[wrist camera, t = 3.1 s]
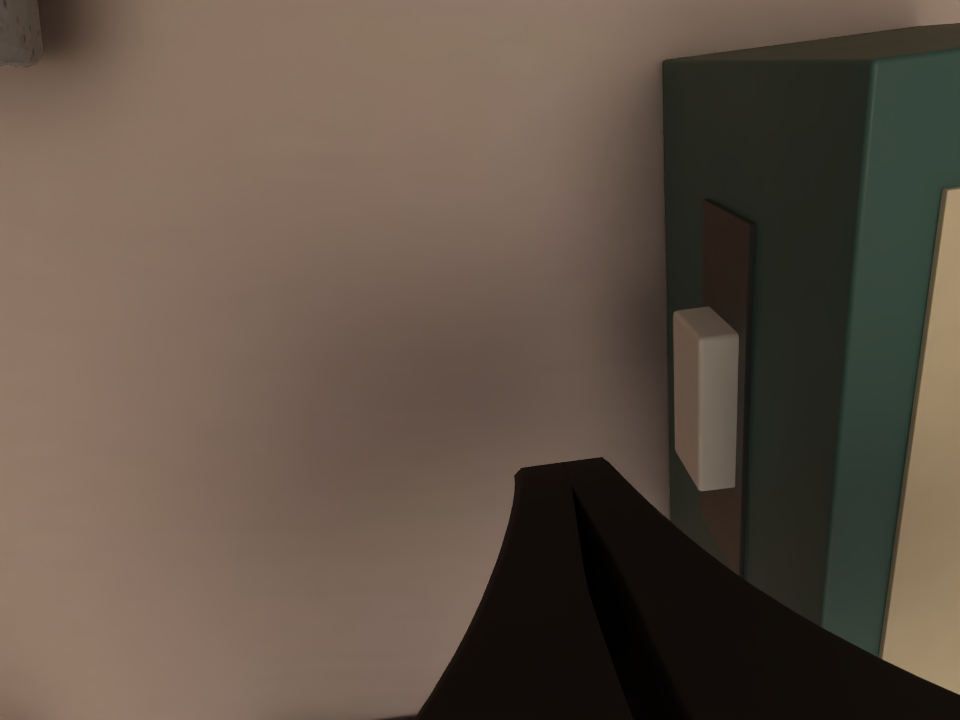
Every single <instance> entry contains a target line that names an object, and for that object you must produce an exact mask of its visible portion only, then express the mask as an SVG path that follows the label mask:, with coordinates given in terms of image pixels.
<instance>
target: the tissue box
mask: <svg viewBox="0 0 960 720" xmlns="http://www.w3.org/2000/svg"><path fill="white" fill-rule="evenodd" d="M663 110H664V168H665V225H666V283H667V340H668V398H669V456H670V513H671V522H672V523H673V524H674V525H675V526H677V527H678V528H679V529H680V530H681V531H682V532H683V533H685V534H686V535H687V536H688V537H689V538H691V539H692V540H693V541H694V542H695V543H697V544H698V545H699V546H700V547H702V548H703V549H704V550H705V551H707V552H708V553H709V554H711V555H712V556H713V557H715V558H716V559H717V560H718V561H720V562H721V563H722V564H724V565H725V566H726V567H728V568H729V569H730V570H732V571H733V572H734V573H736V574H737V575H739V576H740V577H741V578H743V579H744V580H746V581H747V582H749V583H750V584H752V585H753V586H755V587H756V588H758V589H759V590H761V591H763V592H764V593H766V594H767V595H769V596H771V597H772V598H774V599H775V600H777V601H778V602H780V603H782V604H783V605H785V606H786V607H788V608H790V609H791V610H793V611H794V612H796V613H798V614H799V615H801V616H803V617H805V618H806V619H808V620H810V621H812V622H813V623H815V624H817V625H818V626H820V627H822V628H824V629H826V630H828V631H829V632H831V633H833V634H835V635H837V636H839V637H841V638H843V639H844V640H846V641H848V642H850V643H852V644H854V645H856V646H858V647H860V648H861V649H863V650H865V651H867V652H869V653H871V654H873V655H875V656H877V657H879V658H881V659H883V660H885V661H887V662H889V663H891V664H893V665H895V666H897V667H899V668H902V669H904V670H906V671H908V672H910V673H912V674H914V675H916V676H918V677H920V678H923V679H925V680H927V681H930V682H932V683H934V684H936V685H939V686H941V687H943V688H945V689H948V690H950V691H952V692H954V693H957V694H959V695H960V23H956V24H943V25H929V26H917V27H910V28H902V29H895V30H887V31H879V32H872V33H864V34H857V35H849V36H842V37H834V38H826V39H819V40H811V41H804V42H796V43H789V44H781V45H774V46H766V47H758V48H751V49H743V50H736V51H728V52H721V53H713V54H705V55H698V56H690V57H683V58H675V59H668V60H664V61H663Z"/></svg>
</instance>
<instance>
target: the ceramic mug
mask: <svg viewBox="0 0 960 720" xmlns="http://www.w3.org/2000/svg"><path fill="white" fill-rule="evenodd" d="M42 51H43V43H42V35H41V26H40V18H39V9H38V1H37V0H0V65H11V66H15V67H17V66H25V67H29V66H31V65H33V64H36V63H37V62H38V61H39V59H40V58H41V55H42Z"/></svg>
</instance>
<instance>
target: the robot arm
mask: <svg viewBox="0 0 960 720" xmlns="http://www.w3.org/2000/svg"><path fill="white" fill-rule="evenodd" d="M514 477H515V492H514V499H513V505H512V510H511V514H510V519H509V523H508V526H507V530H506V533H505V536H504V540H503V543H502V546H501V550H500V553H499V556H498V559H497V562H496V564H495V567H494V569H493V572H492V574H491V577H490V580H489V582H488V585H487V587H486V590H485V592H484V595H483V597H482V600H481V602H480V604H479V606H478V608H477V611H476V613H475V615H474V617H473V619H472V621H471V623H470V625H469V627H468V630H467V631H466V633H465V635H464V637H463V639H462V641H461V643H460V645H459V647H458V649H457V651H456V652H455V654H454V656H453V658H452V659H451V661H450V663H449V664H448V666H447V668H446V670H445V671H444V673H443V675H442V676H441V678H440V680H439V681H438V683H437V685H436V686H435V688H434V690H433V691H432V693H431V695H430V696H429V698H428V699H427V701H426V702H425V704H424V705H423V707H422V709H421V710H420V712H419V713H418V714H417V716H416V717H415V719H414V720H960V695H959V694H957V693H954V692H952V691H950V690H948V689H945V688H943V687H941V686H939V685H936V684H934V683H932V682H930V681H927V680H925V679H923V678H920V677H918V676H916V675H914V674H912V673H910V672H908V671H906V670H904V669H902V668H899V667H897V666H895V665H893V664H891V663H889V662H887V661H885V660H883V659H881V658H879V657H877V656H875V655H873V654H871V653H869V652H867V651H865V650H863V649H861V648H860V647H858V646H856V645H854V644H852V643H850V642H848V641H846V640H844V639H843V638H841V637H839V636H837V635H835V634H833V633H831V632H829V631H828V630H826V629H824V628H822V627H820V626H818V625H817V624H815V623H813V622H812V621H810V620H808V619H806V618H805V617H803V616H801V615H799V614H798V613H796V612H794V611H793V610H791V609H790V608H788V607H786V606H785V605H783V604H782V603H780V602H778V601H777V600H775V599H774V598H772V597H771V596H769V595H767V594H766V593H764V592H763V591H761V590H759V589H758V588H756V587H755V586H753V585H752V584H750V583H749V582H747V581H746V580H744V579H743V578H741V577H740V576H739V575H737V574H736V573H734V572H733V571H732V570H730V569H729V568H728V567H726V566H725V565H724V564H722V563H721V562H720V561H718V560H717V559H716V558H715V557H713V556H712V555H711V554H709V553H708V552H707V551H705V550H704V549H703V548H702V547H700V546H699V545H698V544H697V543H695V542H694V541H693V540H692V539H691V538H689V537H688V536H687V535H686V534H685V533H683V532H682V531H681V530H680V529H679V528H678V527H677V526H675V525H674V524H673V523H672V522H671V521H670V520H668V519H667V518H666V517H665V516H664V515H663V514H661V513H660V512H659V511H658V510H657V509H656V508H655V507H654V506H653V505H652V504H650V503H649V502H648V501H647V500H646V499H645V498H644V497H643V496H642V495H641V494H640V493H639V492H638V491H637V490H636V489H635V488H634V487H633V486H632V485H631V484H630V483H629V482H628V481H627V480H626V479H625V478H624V477H623V476H622V475H621V474H620V473H619V472H618V471H617V470H616V469H615V468H614V467H613V466H612V465H611V464H610V463H609V462H608V461H606V460H605V459H604V458H602V457H599V458H592V459H584V460H577V461H569V462H562V463H554V464H546V465H539V466H531V467H524V468H521V469H520V470H519V471H518V472H517V473H516V474H515V475H514Z"/></svg>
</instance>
